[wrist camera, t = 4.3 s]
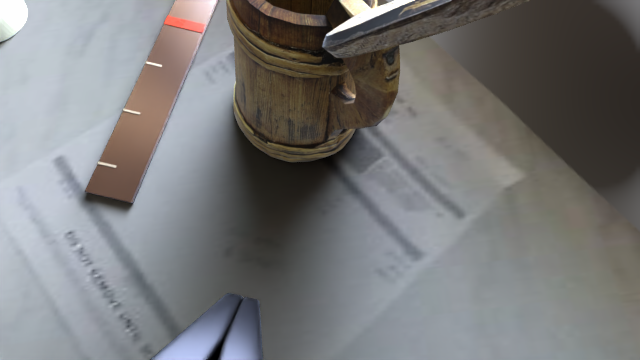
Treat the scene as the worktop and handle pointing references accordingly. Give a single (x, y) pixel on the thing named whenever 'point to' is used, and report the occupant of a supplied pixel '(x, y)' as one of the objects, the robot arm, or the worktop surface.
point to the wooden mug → (328, 65)
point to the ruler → (151, 102)
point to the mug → (11, 17)
